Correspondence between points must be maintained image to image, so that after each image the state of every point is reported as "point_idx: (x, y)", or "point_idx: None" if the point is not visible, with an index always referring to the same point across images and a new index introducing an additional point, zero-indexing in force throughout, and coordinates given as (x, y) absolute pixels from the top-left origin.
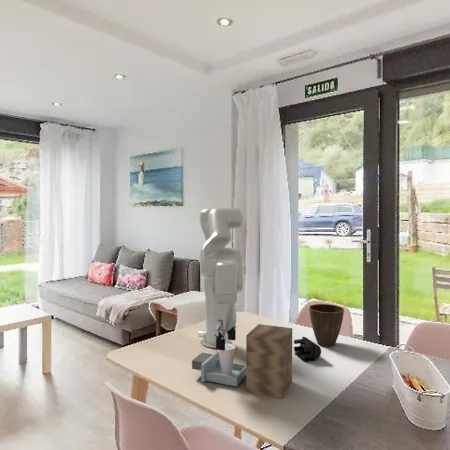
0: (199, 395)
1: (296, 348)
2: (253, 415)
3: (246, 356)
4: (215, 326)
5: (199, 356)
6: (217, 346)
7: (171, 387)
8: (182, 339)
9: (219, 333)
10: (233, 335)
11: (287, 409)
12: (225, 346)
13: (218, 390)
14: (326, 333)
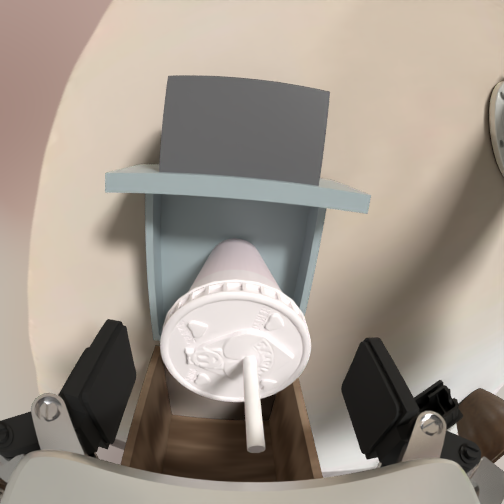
0: (60, 204)
1: (446, 392)
2: (65, 369)
3: (124, 450)
4: (13, 500)
5: (253, 94)
6: (85, 351)
7: (79, 71)
8: (497, 17)
9: (13, 465)
10: (354, 413)
11: (129, 420)
12: (224, 355)
13: (116, 258)
14: (463, 434)
